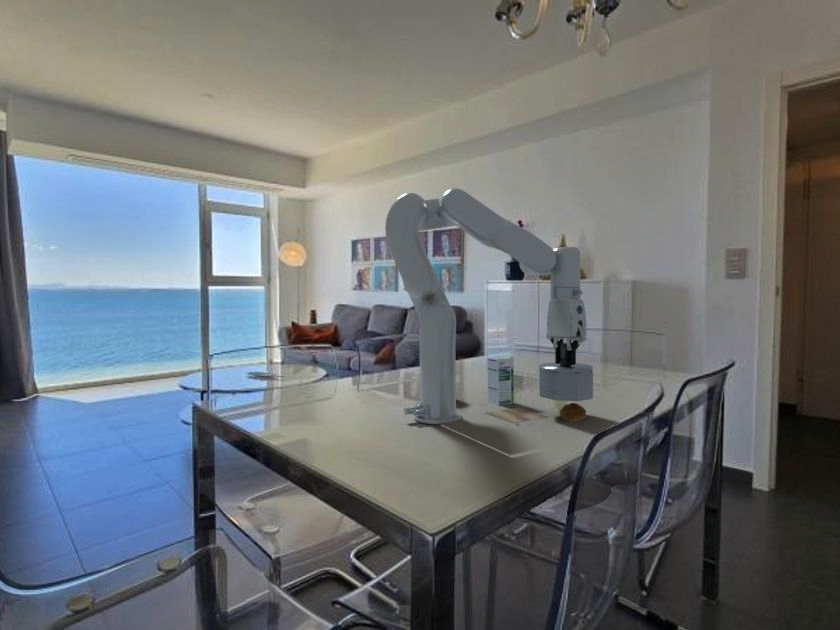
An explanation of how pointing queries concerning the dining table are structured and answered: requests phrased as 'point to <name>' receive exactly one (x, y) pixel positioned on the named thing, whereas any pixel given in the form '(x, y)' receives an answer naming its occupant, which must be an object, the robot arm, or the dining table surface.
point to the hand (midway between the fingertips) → (565, 363)
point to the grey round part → (566, 380)
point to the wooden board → (515, 415)
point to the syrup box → (500, 380)
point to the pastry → (573, 412)
